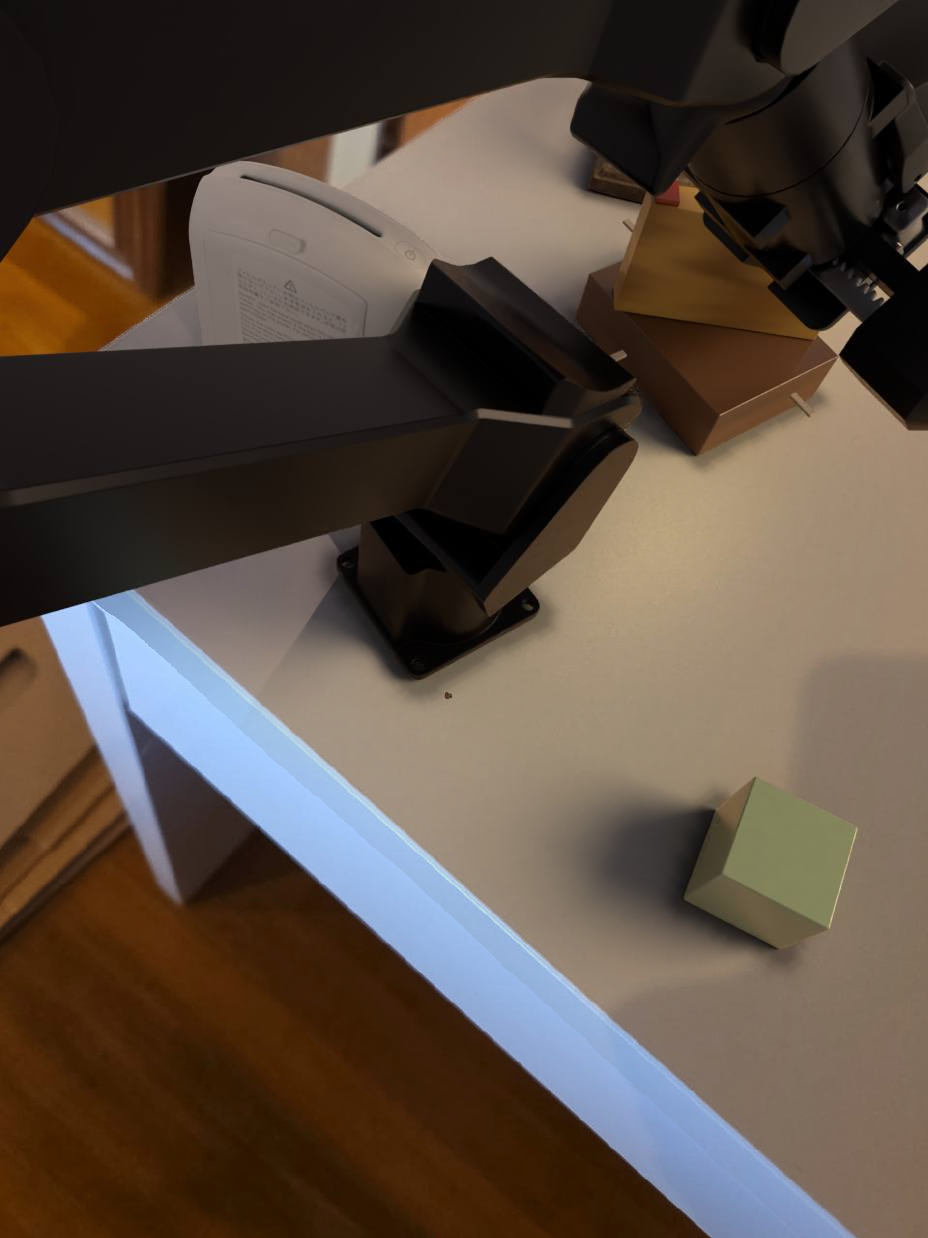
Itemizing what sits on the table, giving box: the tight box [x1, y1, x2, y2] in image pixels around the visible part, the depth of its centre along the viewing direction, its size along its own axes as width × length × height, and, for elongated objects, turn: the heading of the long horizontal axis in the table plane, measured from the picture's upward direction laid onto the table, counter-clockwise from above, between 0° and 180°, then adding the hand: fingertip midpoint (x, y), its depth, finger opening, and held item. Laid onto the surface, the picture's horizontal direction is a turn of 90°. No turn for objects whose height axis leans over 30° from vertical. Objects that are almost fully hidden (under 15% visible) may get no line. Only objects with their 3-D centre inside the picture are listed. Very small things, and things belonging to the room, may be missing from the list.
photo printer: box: [188, 160, 447, 346], centre depth 40 cm, size 10×4×12 cm, turn 64°
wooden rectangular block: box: [614, 182, 821, 340], centre depth 45 cm, size 10×2×6 cm, turn 86°
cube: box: [683, 776, 859, 950], centre depth 36 cm, size 4×4×4 cm
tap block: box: [575, 218, 840, 457], centre depth 49 cm, size 14×14×3 cm
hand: (841, 276), depth 44 cm, fingers closed
